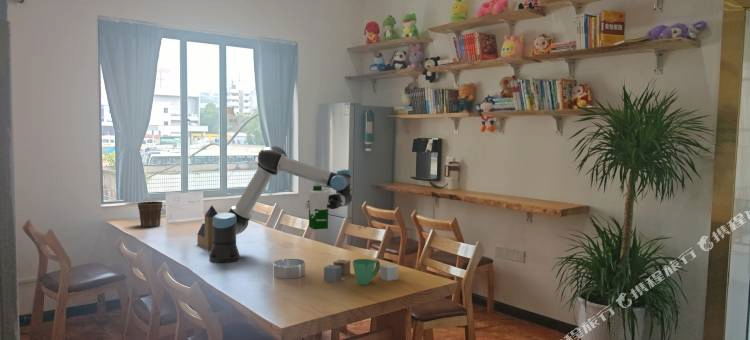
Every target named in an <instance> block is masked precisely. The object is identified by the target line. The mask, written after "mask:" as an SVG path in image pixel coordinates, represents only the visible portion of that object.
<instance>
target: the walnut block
mask: <svg viewBox="0 0 750 340" xmlns="http://www.w3.org/2000/svg"><path fill="white" fill-rule="evenodd" d="M332 265H337V266H342V277H346V276H347V275H350V274H351V260H348V259H347V260H345V259H337V260H335V261H333V264H332Z"/></svg>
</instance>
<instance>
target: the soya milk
mask: <svg viewBox="0 0 750 340" xmlns="http://www.w3.org/2000/svg"><path fill="white" fill-rule="evenodd" d="M322 186H323V185H313V187H312V189H309V190H308V201H309V208H308V227H309V228H310V229H313V230H327V229H329V209H325V210H322V204H325V203H328V198H329V195H330V191H328V190H325V189H323V188H322Z"/></svg>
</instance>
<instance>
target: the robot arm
mask: <svg viewBox="0 0 750 340" xmlns="http://www.w3.org/2000/svg"><path fill="white" fill-rule="evenodd" d="M257 160H258V163H256V165H257V170H256V171H255V173H254V174H253V176H252V178H251V180H250V181H249V183H248V184H247V186H246V188H245V190H244V191H243V193H242V194H241V196H240V198H239V199H238V201H237V203H236V204H235V205H233V206H231V207H230V209H229V210H228V212H221V213H217V215H215V216H214V217H213V246H212V249H211V250H210V252H209V255H208V256H209V257H208V260H209V261H210V262H213V263H219V264H220V263H233V262H236V261H239V260H240V257H241V256H240V252H239V249H238V246H237V235H238V234H239V235H240V234H241V233H243V232H244V231H245V230H246V229H247V227H248V225H249V221H250V219H251V217H252V215H251V212H252V211H253V209H254V207H255V206H256V204H257V202H258V200H259V199H260V197H261V196H262V194H263V192H264V191H265V189H266V187H267V186H268V184H270V183H269V182H270V181H271V179H272V178H273V177H275V176H277V175H278V173H280V172H283V173H286V174H289V175H291V176H295V177H298V178H301V179H304V180H307V181H310V182H314V183H317V184H320V185H321V186H326V187H329V188H331V189H333V190H335V191H336V192H335V193H331V194H329V198H328V203H325V204H322V210H325V209H328V210H329V209H330V210H338V209H340V208H342V207H347V206H350V204H352V203H353V201H354V196H353V194H352V192H351V179H352V175H351V174H352V172H351V170H350V169H343V168H342V169H340V168H339V169H336V172H332V171H330V170H326V169H323V168H320V167H318V166H314V165H313V164H308V163H307V162H306V163H305V162H303V161H300V160H299V161H298V160H296V159H294V158H290V157H288V155H287V152H286V151H285V150H284V148H282V147H280V146H277V145H273V146H266V147H263V148H262V149H261V150H260V151H259V152H258V155H257ZM304 204H305V205H304V209H309V200H307V202H304Z"/></svg>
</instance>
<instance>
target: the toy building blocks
mask: <svg viewBox="0 0 750 340" xmlns="http://www.w3.org/2000/svg"><path fill="white" fill-rule="evenodd" d="M217 214H218V212H217V210H216V209H215V207H214V206H213V205H211V206H210V207H209V208H208V210H207V212H206V213H205V214H204V223H202V224H201V226H200V228H199V230H198V232H197V241H196V242H197V246H200V247H201V248H203V249H204V250H207V251H208V252H209V251H211V249H212V246H213V217H214V216H215V215H217Z"/></svg>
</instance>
